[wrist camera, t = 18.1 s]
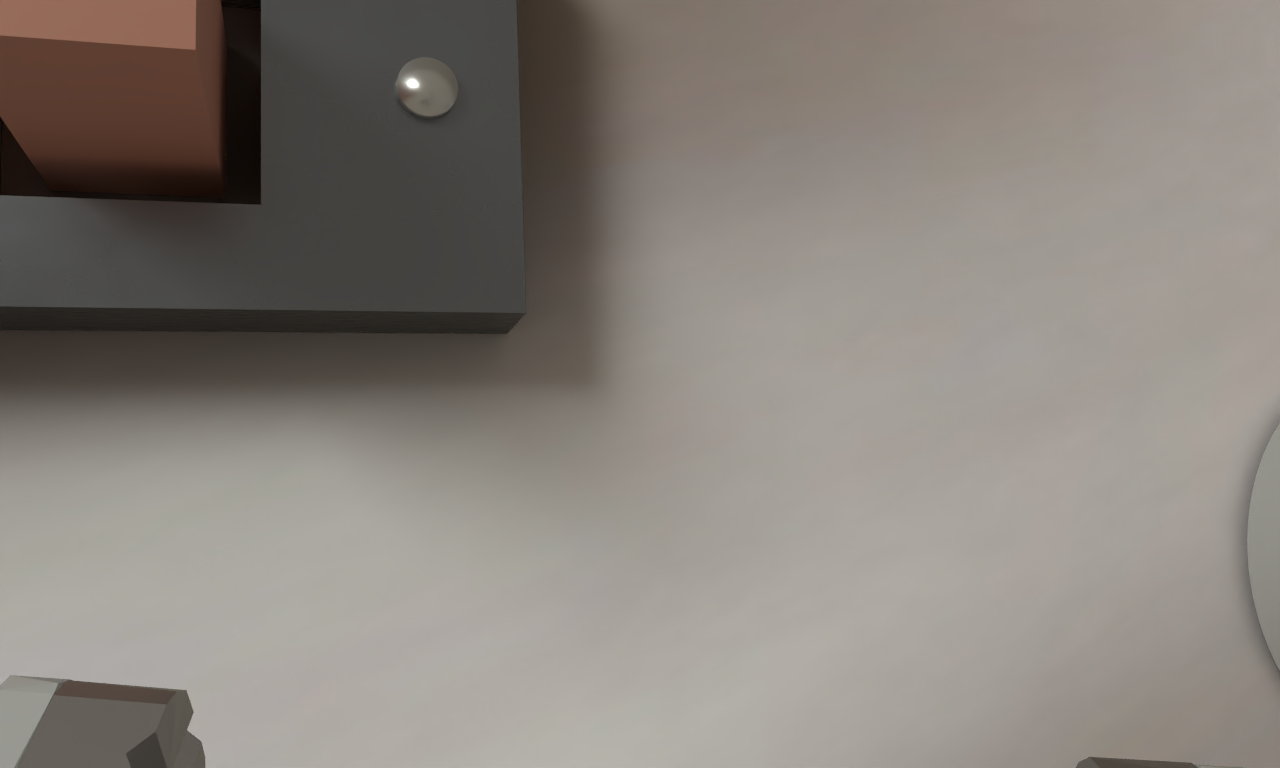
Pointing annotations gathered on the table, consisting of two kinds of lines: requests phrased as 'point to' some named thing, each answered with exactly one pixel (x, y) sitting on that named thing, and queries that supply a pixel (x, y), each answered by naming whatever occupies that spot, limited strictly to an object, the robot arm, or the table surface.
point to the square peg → (118, 93)
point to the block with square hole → (316, 194)
